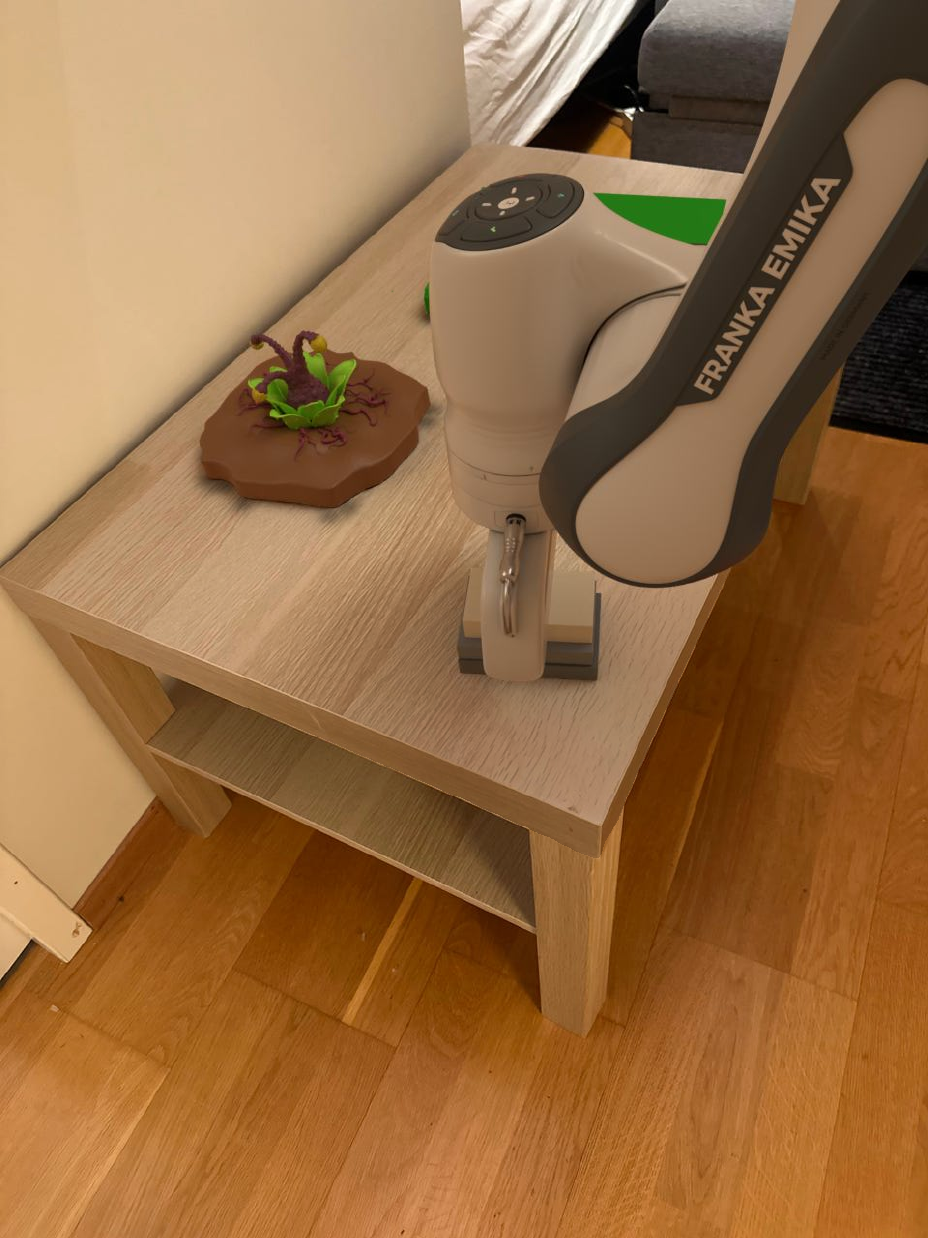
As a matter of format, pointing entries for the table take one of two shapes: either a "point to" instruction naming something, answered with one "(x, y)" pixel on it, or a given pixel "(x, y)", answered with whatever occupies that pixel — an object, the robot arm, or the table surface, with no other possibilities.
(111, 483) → the table surface
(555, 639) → the beige block
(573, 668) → the grey books
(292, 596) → the table surface
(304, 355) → the plant
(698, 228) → the book
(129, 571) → the table surface
